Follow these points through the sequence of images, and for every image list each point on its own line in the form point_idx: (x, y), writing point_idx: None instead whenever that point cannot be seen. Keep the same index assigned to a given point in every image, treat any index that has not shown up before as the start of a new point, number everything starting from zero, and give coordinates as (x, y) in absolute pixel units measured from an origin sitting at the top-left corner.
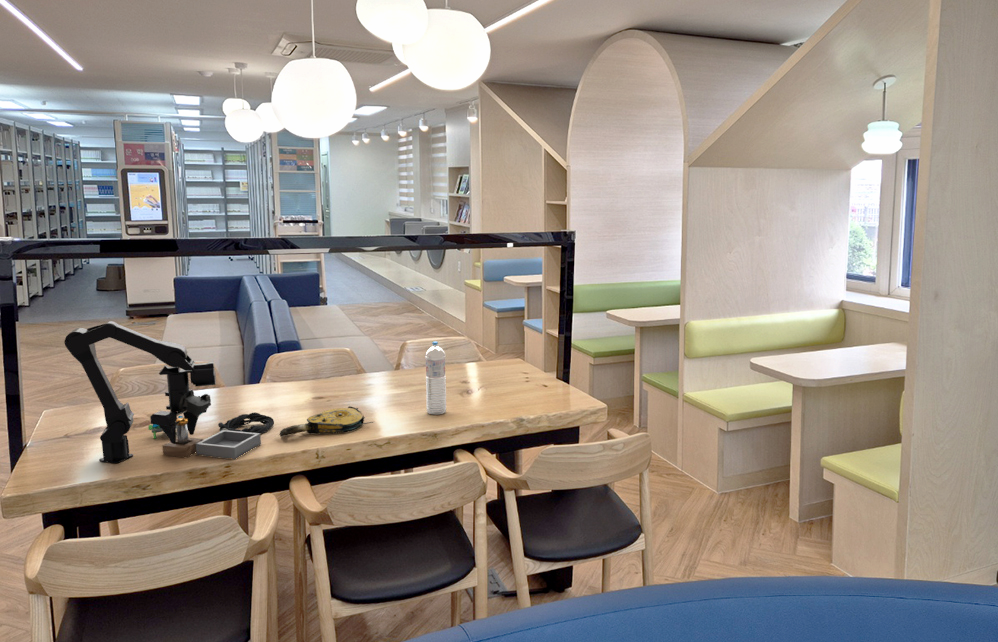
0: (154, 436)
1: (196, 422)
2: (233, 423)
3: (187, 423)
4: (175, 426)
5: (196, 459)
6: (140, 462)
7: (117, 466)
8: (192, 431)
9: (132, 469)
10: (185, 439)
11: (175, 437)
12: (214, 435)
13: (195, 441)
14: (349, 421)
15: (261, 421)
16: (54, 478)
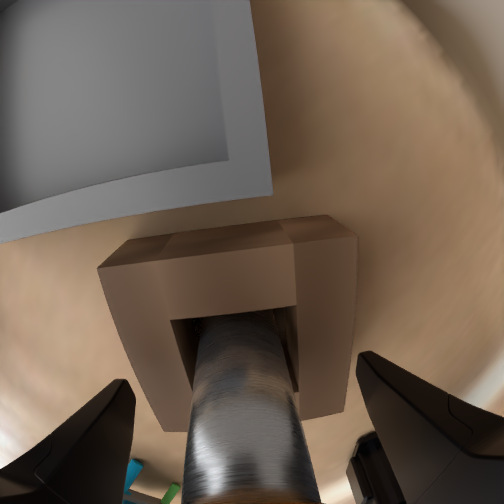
0: (175, 491)
1: (46, 440)
2: None
3: (116, 484)
4: (488, 447)
5: (328, 121)
6: (420, 370)
7: (450, 391)
8: (117, 399)
9: (480, 329)
10: (255, 350)
11: (391, 378)
12: (19, 217)
13: (177, 286)
14: None
15: None
16: (494, 413)
